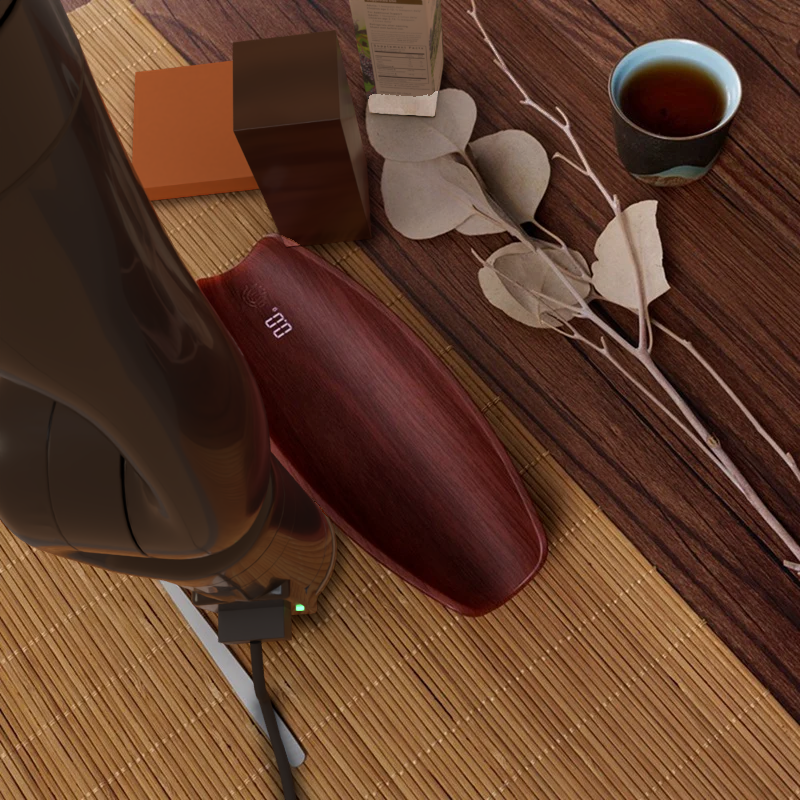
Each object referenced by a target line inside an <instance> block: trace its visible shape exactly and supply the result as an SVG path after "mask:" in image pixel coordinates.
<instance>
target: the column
mask: <svg viewBox="0 0 800 800" xmlns="http://www.w3.org/2000/svg"><path fill="white" fill-rule="evenodd" d="M232 61H233V132H234V134H235V136H236V139H237V141H238V143H239V145H240V147H241V150H242V152H243V154H244V156H245V158H246V161H247V163H248V165H249V167H250V169H251V172H252V174H253V176H254V178H255V181H256V183H257V185H258V187H259V189H258V190H259V191H260V194H261V196H262V198H263V200H264V203H265V205H266V207H267V209H268V211H269V213H270V216H271V218H272V220H273V222H274V225H275V227H276V228H277V231H278V233H279V236H280V235H283V236H285V237H287V238H290V239H292V240H294V241H295V242H297V243H298V244H300V245H302V246H301V247H305V246H314V245H325V244H326V245H327V244H334V243H336V244H337V243H344V242H354V241H363V240H371V239H372V223H371V221H372V220H371V207H370V190H369V189H370V188H369V173H368V162H367V158H366V153H365V149H364V145H363V141H362V136H361V132H360V128H359V124H358V123H359V122H358V119H357V115H356V110H355V106H354V102H353V97H352V93H351V89H350V86H349V80H348V76H347V72H346V68H345V63H344V60H343V55H342V51H341V47H340V41H339V38H338V34H337V29H333V30H332V29H331V30H324V31H323V30H322V31H315V32H308V33H307V32H306V33H297V34H292V35H281V36H273V37H267V38H257V39H250V40H241V41H240V40H239V41H233V42H232Z"/></svg>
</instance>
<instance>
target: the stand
mask: <svg viewBox="0 0 800 800" xmlns="http://www.w3.org/2000/svg"><path fill="white" fill-rule="evenodd" d="M132 125H133V127H132V151H131V152H132V154H131V156H132V157H131V162H132V165H133V167H134V169H135V171H136V173H137V175H138V177H139V179H140V181H141V183H142V185H143V187H144V189H145V191H146V193H147V195H148V197H149V199H150V201H151V202H152V201H161V200H170V199H178V198H188V197H197V196H205V195H215V194H224V193H233V192H243V191H250V190H251V191H252V190H260V189H259V187H258V185H257V183H256V181H255V178H254V176H253V174H252V172H251V169H250V167H249V165H248V163H247V161H246V158H245V156H244V154H243V152H242V150H241V147H240V145H239V143H238V141H237V139H236V136H235V134H234V132H233V60H226V61H217V62H209V63H201V64H192V65H183V66H175V67H167V68H158V69H150V70H143V71H142V70H141V71H135V73H134V97H133V124H132Z"/></svg>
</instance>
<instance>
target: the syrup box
mask: <svg viewBox="0 0 800 800" xmlns="http://www.w3.org/2000/svg"><path fill="white" fill-rule="evenodd" d="M348 2H349V8H350V12H351V19H352V25H353V30H354V36H355V41H356V47H357V53H358V57H359V63H360V68H361V75H362V79H363V86H364V91H365V96H366V97H365V98H366V101H367V103H368V99H369V96H370V95H372V94H381V95H383V94H385V95H389V94H390V95H396V96H399V95H401V96H413V97H416V96H423V95H427V94H428V96H430V95H432V94H433V93H434V92H435V91H439V92H440V88H441V82H442V77H443V69H444V64H445V58H444V57H445V53H444V52H445V51H444V37H443V36H444V35H443V19H442V18H443V16H442V0H348Z"/></svg>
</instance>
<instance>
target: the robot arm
mask: <svg viewBox="0 0 800 800" xmlns="http://www.w3.org/2000/svg"><path fill="white" fill-rule="evenodd" d="M271 445H272V444H271V435H270V428H269V422H268V415H267V411H266V407H265V403H264V399H263V396H262V394H261V391H260V388H259V385H258V382H257V381H256V378H255V376H254V374H253V371H252V369H251V367H250V365H249V363H248V361H247V359H246V357H245V355H244V354H243V352H242V350H241V349H240V347H239V346H238V343H237V342H236V341H235V339H234V337H233V336H232V334H231V333H230V331H229V330H228V327H226V325H225V324H224V322H223V320H222V319H221V317H220V316H219V314H218V313H217V311H216V310H215V308H214V307H213V305H212V304H211V303H210V300H209V299H208V298H207V296H206V294H205V293H204V291H203V290H202V288H201V287H200V285H199V284H198V282H197V281H196V279H195V278H194V275H193V274H192V273H191V272H190V270H189V268H188V267H187V265H186V263H185V261H184V260H183V258H182V257H181V256H180V253H178V250H177V248H176V247H175V244H174V243H173V241H172V238H171V237H170V235H169V234H168V232H167V230H166V228H165V226H164V225H163V222H162V220H161V218H160V216H159V215H158V213H157V211H156V209H155V207H154V205H153V203H152V201H150V199H149V197H148V195H147V193H146V191H145V189H144V187H143V185H142V183H141V181H140V179H139V177H138V175H137V173H136V171H135V169H134V167H133V165H132V159H130V156H129V154H128V152H127V150H126V148H125V145H124V144H123V141H122V139H121V137H120V135H119V132H118V130H117V128H116V126H115V124H114V122H113V118H112V117H111V115H110V112H109V110H108V107H107V105H106V103H105V101H104V98H103V96H102V93H101V91H100V89H99V87H98V84H97V82H96V79H95V77H94V74H93V71H92V69H91V66H90V65H89V62H88V60H87V57H86V55H85V52H84V49H83V48H82V45H81V43H80V39H79V38H78V35H77V34H76V30H75V29H74V26H73V24H72V22H71V21H70V18H69V16H68V14H67V12H66V10H65V8H64V5H63V3H62V1H61V0H0V521H1V522H2V523H3V524H4V526H5V527H6V528H7V529H8V530H9V531H10V532H11V533H12V534H13V535H14V536H16V538H18V539H19V540H20V541H22V542H23V543H25V544H26V545H28V546H30V547H32V548H34V549H36V550H38V551H41V552H44V553H46V554H50V555H52V556H55V557H56V556H57V557H60V558H63V559H66V560H70V561H72V562H76V563H79V564H82V565H85V566H90V567H93V568H96V569H100V570H103V571H107V572H111V573H114V574H119V575H123V576H129V577H130V576H131V577H137V578H142V579H149V580H157V581H163V582H167V583H170V584H172V585H173V584H174V585H176V586H178V587H181V588H184V589H186V590H189V591H191V604H192V605H193V606H194V607H197V608H199V609H202V610H205V611H208V612H211V613H214V614H217V642H218V643H219V644H223V645H227V646H230V645H243V644H244V645H245V644H249V649H250V663H251V676H252V683H253V689H254V694H255V696H256V699H257V701H258V704H259V706H260V710H261V714H262V718H263V721H264V724H265V728H266V731H267V734H268V737H269V741H270V744H271V748H272V750H273V754H274V757H275V761H276V765H277V769H278V774H279V778H280V782H281V786H282V791H283V792H282V793H283V797H284V798H283V799H284V800H297V795H296V788H295V784H294V780H293V778H294V777H293V775H292V771H291V766H290V763H289V759H288V756H287V752H286V749H285V745H284V743H283V740H282V736H281V733H280V729H279V726H278V722H277V719H276V714H275V711H274V708H273V704H272V701H271V698H270V694H269V692H268V691H267V686H266V679H265V669H264V667H265V666H264V654H263V643H269V642H271V643H272V642H273V643H274V642H285V641H286V642H287V641H292V640H293V632H292V631H293V629H292V628H293V627H292V616H298V615H299V616H302V615H313V614H315V613H317V611H318V598H319V596H320V595H321V594H322V593H323V592H324V590H325V588H326V587H327V585H328V584H329V582H330V580H331V578H332V576H333V573H334V570H335V566H336V563H337V557H338V543H337V536H336V531H335V529H334V526H333V523H332V521H331V519H330V517H329V516H328V517H327V516H326V515H325V514H324V513H323V512H322V510H321V509H320V508H319V506H318V505H317V504H316V503H315V502H314V500H315V499H314V498H313V497H311V496H310V495H309V494H308V492H307V491H306V490H305V489H304V488H303V487H302V486H301V484H300V483H299V482H298V481H297V479H295V477H294V476H293V475H292V474H291V473H290V472H289V470H288V469H287V468H286V467H285V466H284V465H283V463H281V461H280V460H279V459H278V457H277V456H276V455H275V454H274V453H273V451H272V446H271ZM312 498H313V499H314V500H313V499H312Z"/></svg>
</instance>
